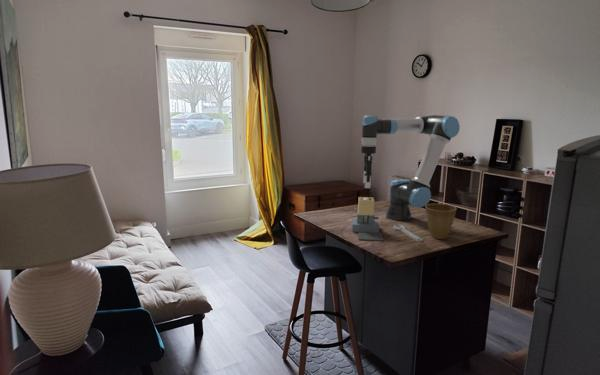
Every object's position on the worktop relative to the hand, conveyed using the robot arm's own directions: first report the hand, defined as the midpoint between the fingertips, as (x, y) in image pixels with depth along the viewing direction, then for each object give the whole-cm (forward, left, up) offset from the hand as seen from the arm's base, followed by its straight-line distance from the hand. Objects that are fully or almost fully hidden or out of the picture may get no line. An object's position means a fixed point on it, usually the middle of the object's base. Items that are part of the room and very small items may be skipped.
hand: (366, 185), depth 206 cm
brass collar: (0, 0, -15) cm, 15 cm away
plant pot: (-37, +8, -25) cm, 45 cm away
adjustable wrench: (-22, +5, -25) cm, 33 cm away
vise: (0, 0, -24) cm, 24 cm away
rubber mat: (-2, +13, -24) cm, 28 cm away
